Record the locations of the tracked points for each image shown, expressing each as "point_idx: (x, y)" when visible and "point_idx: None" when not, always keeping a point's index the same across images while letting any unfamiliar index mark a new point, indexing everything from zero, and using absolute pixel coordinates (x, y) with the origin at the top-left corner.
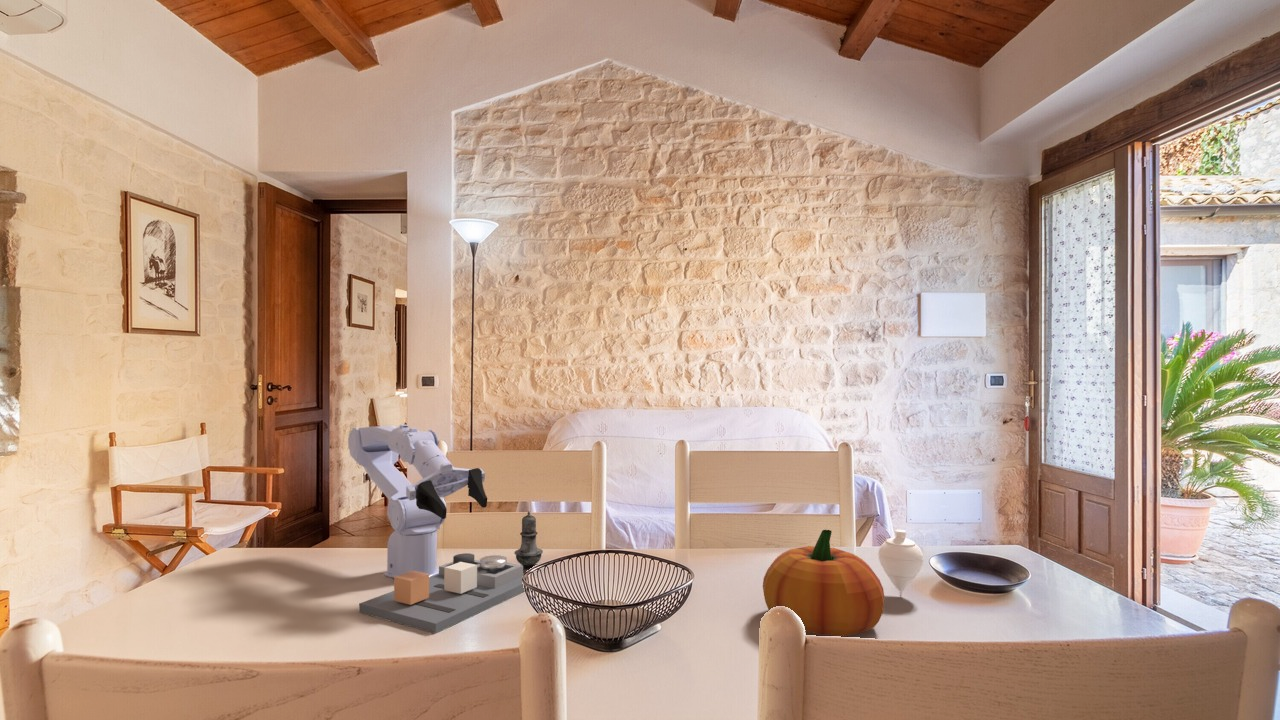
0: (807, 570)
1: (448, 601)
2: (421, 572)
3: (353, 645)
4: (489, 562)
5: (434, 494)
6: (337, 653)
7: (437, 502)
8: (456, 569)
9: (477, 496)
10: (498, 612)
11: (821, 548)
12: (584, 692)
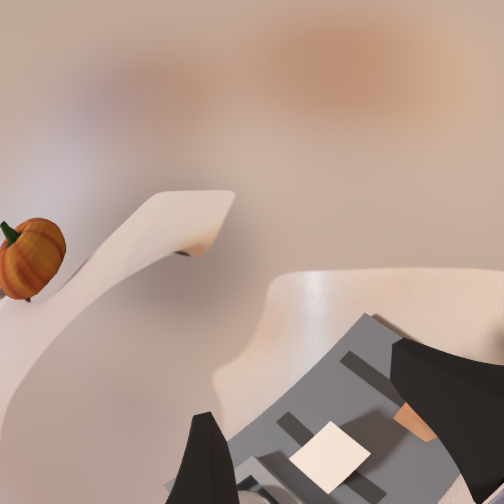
0: (37, 222)
1: (354, 405)
2: (421, 420)
3: (457, 297)
4: (253, 498)
5: (476, 375)
6: (463, 279)
7: (441, 352)
8: (341, 433)
9: (230, 493)
10: (267, 382)
11: (13, 229)
12: (227, 203)
